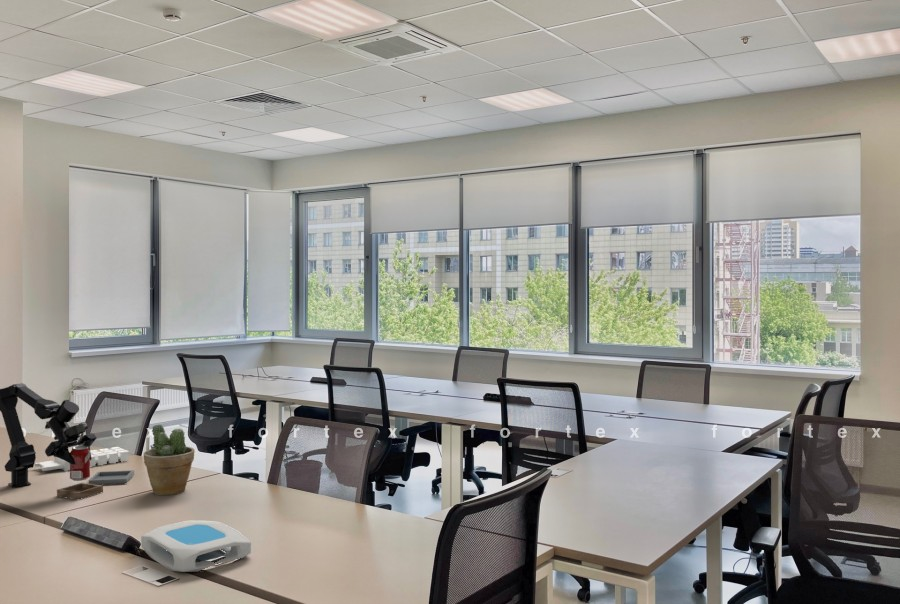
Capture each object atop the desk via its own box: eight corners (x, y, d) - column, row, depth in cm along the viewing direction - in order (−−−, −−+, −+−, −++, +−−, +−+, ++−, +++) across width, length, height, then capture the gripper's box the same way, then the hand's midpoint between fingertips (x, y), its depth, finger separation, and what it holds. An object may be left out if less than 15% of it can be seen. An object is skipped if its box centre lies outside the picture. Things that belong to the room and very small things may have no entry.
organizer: (129, 451, 329) (43, 464, 304) (129, 461, 329) (43, 475, 304) (117, 446, 338) (33, 458, 313) (117, 457, 338) (33, 469, 313)
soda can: (81, 482, 271) (81, 449, 271) (65, 480, 273) (65, 448, 272) (93, 477, 278) (94, 445, 278) (78, 476, 279) (78, 444, 279)
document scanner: (207, 535, 231) (207, 515, 231) (252, 558, 212) (252, 536, 211) (140, 551, 217) (140, 530, 217) (181, 578, 197) (181, 555, 197)
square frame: (56, 496, 272) (56, 489, 272) (82, 489, 283) (82, 482, 283) (78, 499, 268) (78, 493, 268) (103, 492, 278) (103, 485, 278)
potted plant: (203, 485, 288) (203, 422, 288) (181, 499, 270) (181, 431, 269) (158, 484, 290) (158, 421, 289) (133, 497, 271) (133, 430, 271)
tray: (88, 485, 288) (88, 480, 287) (97, 476, 301) (97, 471, 301) (126, 483, 290) (126, 478, 290) (134, 475, 304) (134, 470, 304)
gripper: (50, 420, 268) (72, 453, 264) (93, 412, 285) (114, 443, 281) (35, 439, 271) (56, 472, 267) (78, 430, 288) (99, 461, 284)
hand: (82, 462), depth 275 cm, fingers closed on soda can, 7 cm apart
